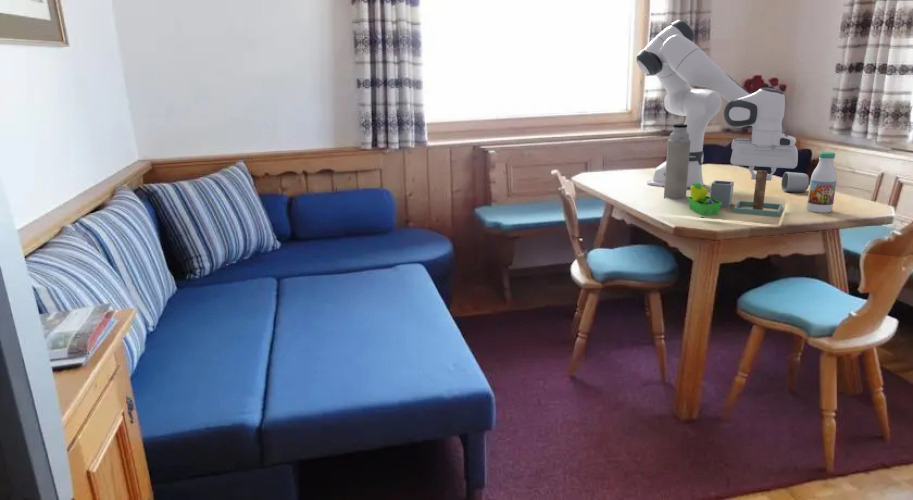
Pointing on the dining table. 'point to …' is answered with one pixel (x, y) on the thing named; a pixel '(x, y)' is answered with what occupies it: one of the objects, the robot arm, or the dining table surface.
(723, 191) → the pen cup
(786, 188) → the ceramic mug
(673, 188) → the thermos bottle
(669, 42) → the robot arm
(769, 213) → the tray
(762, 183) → the dowel pin
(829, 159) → the milk bottle
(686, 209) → the dining table surface
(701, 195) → the fruit basket
